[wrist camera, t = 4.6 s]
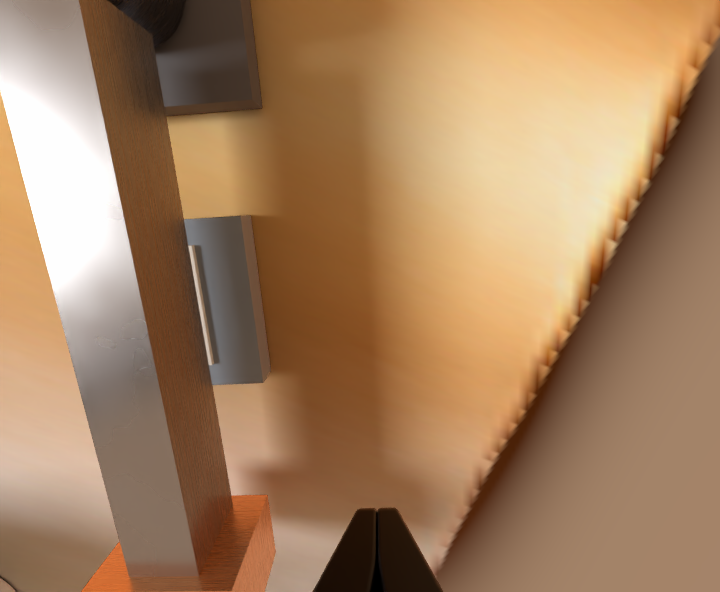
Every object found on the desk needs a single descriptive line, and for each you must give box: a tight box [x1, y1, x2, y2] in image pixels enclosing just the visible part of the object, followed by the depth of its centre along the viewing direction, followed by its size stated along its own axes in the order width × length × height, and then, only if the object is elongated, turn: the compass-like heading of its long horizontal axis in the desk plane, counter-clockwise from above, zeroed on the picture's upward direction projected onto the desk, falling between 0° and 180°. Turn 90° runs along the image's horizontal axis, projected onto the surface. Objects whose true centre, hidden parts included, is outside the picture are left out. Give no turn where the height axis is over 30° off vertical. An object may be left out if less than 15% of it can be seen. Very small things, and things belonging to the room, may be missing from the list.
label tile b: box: [184, 215, 271, 385], centre depth 16 cm, size 7×5×1 cm
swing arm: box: [0, 0, 276, 592], centre depth 12 cm, size 24×5×5 cm, turn 4°
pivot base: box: [154, 0, 262, 116], centre depth 13 cm, size 7×7×1 cm
